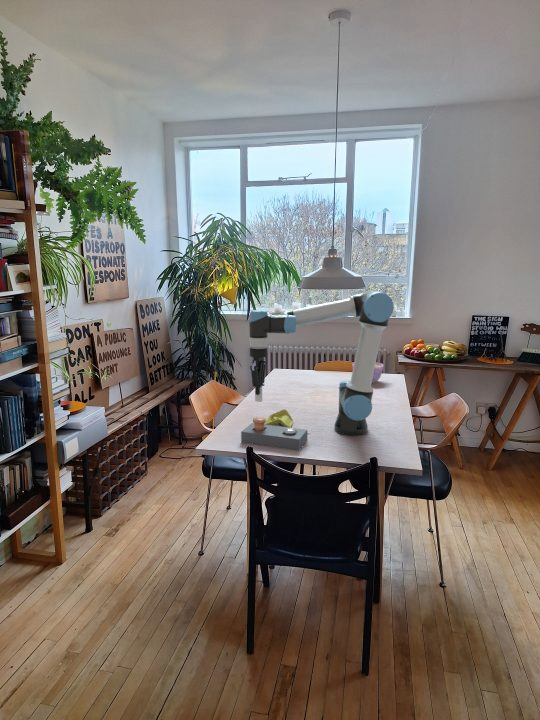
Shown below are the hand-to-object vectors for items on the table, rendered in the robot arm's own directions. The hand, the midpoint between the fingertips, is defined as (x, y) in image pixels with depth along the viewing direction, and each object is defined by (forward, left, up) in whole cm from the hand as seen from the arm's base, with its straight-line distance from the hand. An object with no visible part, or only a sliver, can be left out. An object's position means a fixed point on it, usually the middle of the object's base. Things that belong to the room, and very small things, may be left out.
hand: (258, 401), depth 199 cm
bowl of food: (-27, -119, -18) cm, 123 cm away
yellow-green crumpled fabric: (-2, -18, -18) cm, 26 cm away
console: (-7, 0, -18) cm, 19 cm away
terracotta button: (0, 0, -14) cm, 14 cm away
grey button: (-14, 0, -17) cm, 22 cm away
